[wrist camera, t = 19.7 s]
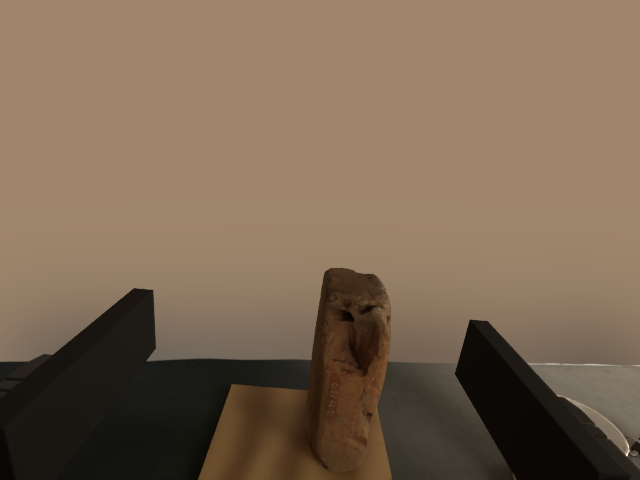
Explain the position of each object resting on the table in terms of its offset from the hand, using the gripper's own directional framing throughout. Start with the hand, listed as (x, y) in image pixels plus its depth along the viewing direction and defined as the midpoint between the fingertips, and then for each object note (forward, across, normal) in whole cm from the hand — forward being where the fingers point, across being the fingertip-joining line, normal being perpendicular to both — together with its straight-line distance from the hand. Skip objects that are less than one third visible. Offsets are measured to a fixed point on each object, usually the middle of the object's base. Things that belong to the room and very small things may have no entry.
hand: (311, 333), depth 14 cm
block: (+19, +5, -26) cm, 32 cm away
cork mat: (+19, +1, -26) cm, 33 cm away
